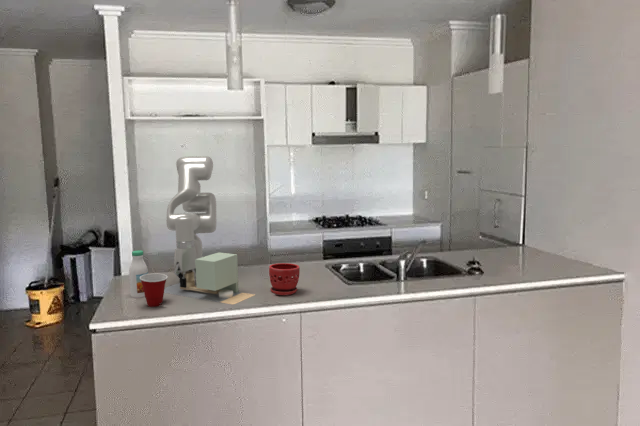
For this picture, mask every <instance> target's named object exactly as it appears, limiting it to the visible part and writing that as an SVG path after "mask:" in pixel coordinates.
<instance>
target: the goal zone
mask: <svg viewBox="0 0 640 426" xmlns="http://www.w3.org/2000/svg"><path fill="white" fill-rule="evenodd" d="M252 297H255V293H248V292H241V293H240V294H238V295H236V296H233V297H231V298H229V299H226V300H224V301H221V302H220V303H222V304H228V305H231V306H232V305H236V304H238V303H240V302H243V301H245V300H247V299H250V298H252Z"/></svg>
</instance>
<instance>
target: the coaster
mask: <svg viewBox="0 0 640 426" xmlns="http://www.w3.org/2000/svg"><path fill="white" fill-rule="evenodd" d="M218 293H219V298H231V297H233V291H232V290H221V291H219V292H218Z"/></svg>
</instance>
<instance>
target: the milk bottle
mask: <svg viewBox="0 0 640 426" xmlns="http://www.w3.org/2000/svg"><path fill="white" fill-rule="evenodd" d="M131 258H132V261H131V263H130V266H129V275H128V277H129V288H130V289H129V292H130V293H129V294H130V297H131V298H145V294H144V289H143V285H142V282H141V280H140V276H142V275H145V274H149V270H148V266H147V264H146V262H145V260H144V250H141V249H140V250H139V249H138V250H133V251H131Z"/></svg>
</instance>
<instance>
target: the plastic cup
mask: <svg viewBox="0 0 640 426" xmlns="http://www.w3.org/2000/svg"><path fill="white" fill-rule="evenodd" d="M167 279H168V275H167V274H164V273H157V272H156V273H155V272H154V273H148V274H145V275H142V276H140V280H141V282H142V285H143V289H144V294H145V297H144V298H145V302H146V304H147V307H150V308H152V307H153V308H154V307H160V306H162V305H163V304H162V303H163V302H164V296H165V295H164V294H165V293H164V289H165V288H166V282H167Z"/></svg>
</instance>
